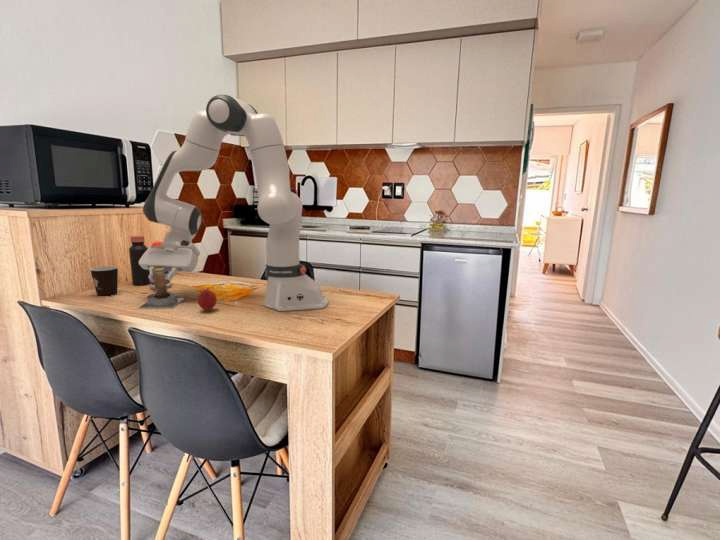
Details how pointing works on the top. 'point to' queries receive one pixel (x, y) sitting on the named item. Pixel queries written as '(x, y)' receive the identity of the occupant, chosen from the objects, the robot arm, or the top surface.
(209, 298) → the onion
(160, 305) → the collar
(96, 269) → the coffee mug
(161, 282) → the dowel
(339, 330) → the top surface
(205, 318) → the top surface
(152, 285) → the stacking toy
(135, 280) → the bottle
